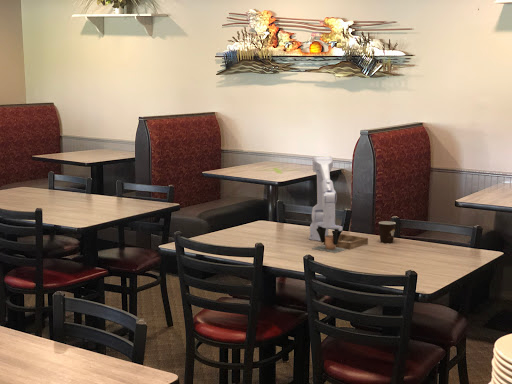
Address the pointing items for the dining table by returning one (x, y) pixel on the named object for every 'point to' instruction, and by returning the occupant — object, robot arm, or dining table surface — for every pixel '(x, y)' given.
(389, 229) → the coffee mug
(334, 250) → the rubber mat
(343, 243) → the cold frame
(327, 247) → the terracotta pot
